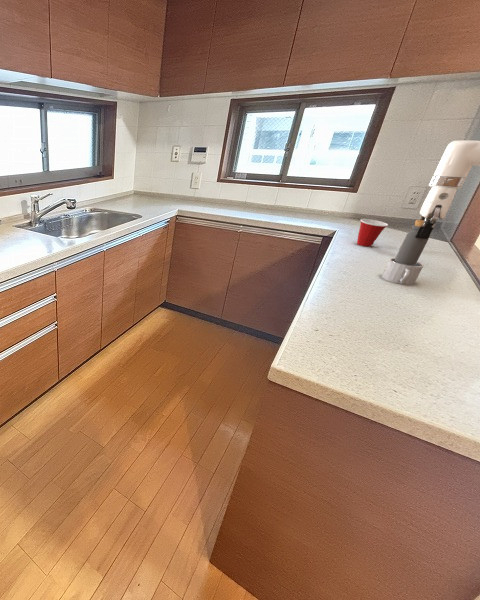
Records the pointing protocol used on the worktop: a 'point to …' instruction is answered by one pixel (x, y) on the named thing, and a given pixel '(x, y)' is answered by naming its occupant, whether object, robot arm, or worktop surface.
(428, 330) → the worktop surface
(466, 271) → the worktop surface
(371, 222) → the plastic cup
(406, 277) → the mug
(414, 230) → the bottle
